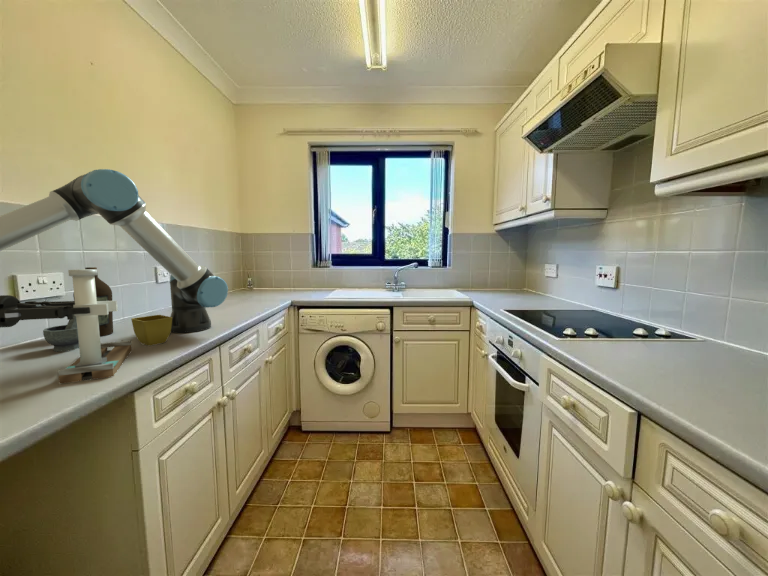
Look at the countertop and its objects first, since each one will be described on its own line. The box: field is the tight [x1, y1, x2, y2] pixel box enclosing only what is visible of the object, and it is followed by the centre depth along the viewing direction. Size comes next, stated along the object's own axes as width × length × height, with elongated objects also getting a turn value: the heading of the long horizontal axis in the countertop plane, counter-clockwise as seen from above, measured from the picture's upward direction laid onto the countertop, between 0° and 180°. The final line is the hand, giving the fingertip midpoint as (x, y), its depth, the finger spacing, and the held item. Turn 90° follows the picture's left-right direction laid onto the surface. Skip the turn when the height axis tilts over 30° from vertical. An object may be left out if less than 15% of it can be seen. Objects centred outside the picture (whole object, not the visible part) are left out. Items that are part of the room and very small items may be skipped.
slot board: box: [57, 340, 133, 385], centre depth 89 cm, size 10×24×3 cm, turn 29°
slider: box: [67, 268, 107, 368], centre depth 81 cm, size 5×5×24 cm
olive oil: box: [72, 266, 114, 337], centre depth 118 cm, size 11×11×25 cm
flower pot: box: [131, 314, 172, 347], centre depth 109 cm, size 9×9×9 cm
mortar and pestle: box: [42, 314, 79, 352], centre depth 103 cm, size 11×9×12 cm
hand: (112, 307), depth 82 cm, fingers open, 4 cm apart
